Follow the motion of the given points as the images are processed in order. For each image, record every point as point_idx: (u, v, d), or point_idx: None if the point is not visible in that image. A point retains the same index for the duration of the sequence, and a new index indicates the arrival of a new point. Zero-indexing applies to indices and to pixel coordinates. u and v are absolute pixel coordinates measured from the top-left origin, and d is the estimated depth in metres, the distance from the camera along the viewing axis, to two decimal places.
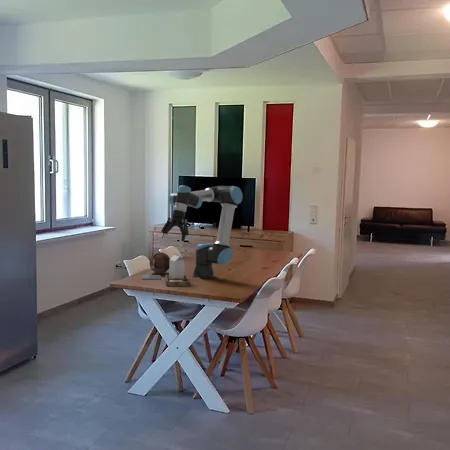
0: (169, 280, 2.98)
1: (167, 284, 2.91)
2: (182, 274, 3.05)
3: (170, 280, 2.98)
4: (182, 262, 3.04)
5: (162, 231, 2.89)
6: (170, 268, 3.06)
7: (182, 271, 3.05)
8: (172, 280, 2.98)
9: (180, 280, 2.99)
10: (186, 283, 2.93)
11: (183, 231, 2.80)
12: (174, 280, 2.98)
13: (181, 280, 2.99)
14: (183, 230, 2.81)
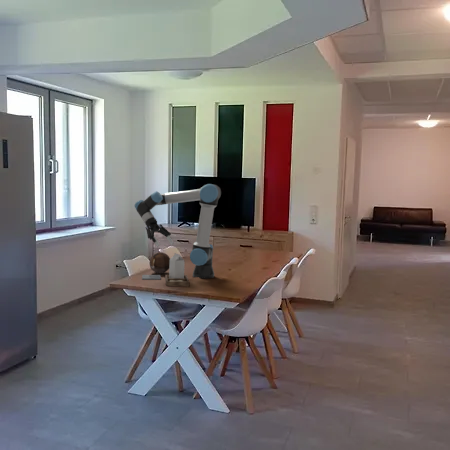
0: None
1: (167, 284, 2.91)
2: (182, 274, 3.05)
3: None
4: (182, 262, 3.04)
5: None
6: (170, 268, 3.06)
7: (182, 271, 3.05)
8: None
9: (180, 280, 2.99)
10: (186, 283, 2.93)
11: (151, 235, 3.08)
12: (174, 280, 2.98)
13: (181, 280, 2.99)
14: (151, 234, 3.09)
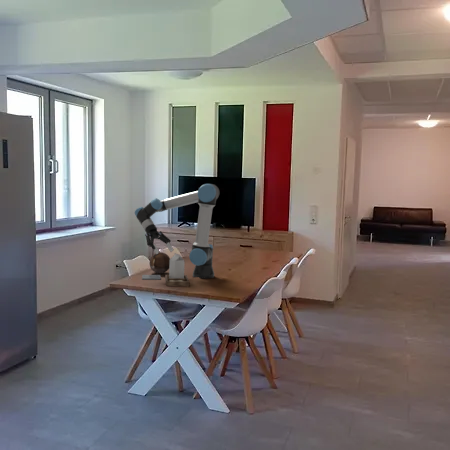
0: None
1: (167, 284, 2.91)
2: (182, 274, 3.05)
3: None
4: (182, 262, 3.04)
5: None
6: (170, 268, 3.06)
7: (182, 271, 3.05)
8: (172, 280, 2.98)
9: (180, 280, 2.99)
10: (186, 283, 2.93)
11: None
12: (174, 280, 2.98)
13: (181, 280, 2.99)
14: (151, 241, 3.10)
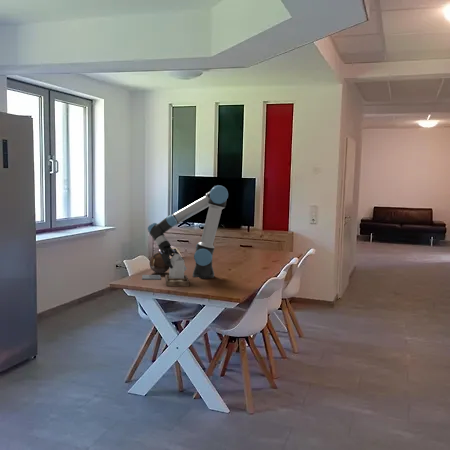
0: None
1: (167, 284, 2.91)
2: (182, 274, 3.05)
3: None
4: (182, 262, 3.04)
5: None
6: (170, 268, 3.06)
7: (182, 271, 3.05)
8: (172, 280, 2.98)
9: (180, 280, 2.99)
10: (186, 283, 2.93)
11: None
12: (174, 280, 2.98)
13: (181, 280, 3.00)
14: (167, 259, 3.04)
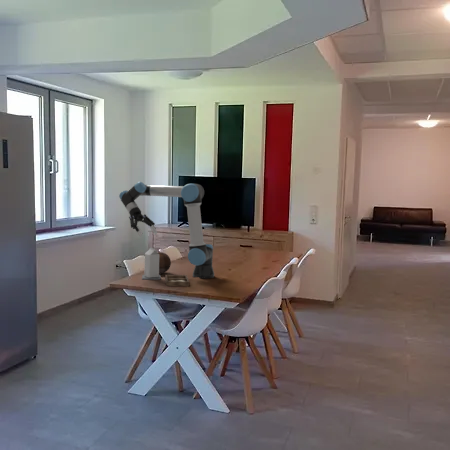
0: None
1: (167, 284, 2.91)
2: (157, 267, 3.13)
3: None
4: (157, 256, 3.12)
5: None
6: (145, 262, 3.13)
7: (157, 265, 3.12)
8: None
9: (181, 280, 2.99)
10: (186, 283, 2.93)
11: (134, 224, 3.14)
12: (175, 280, 2.98)
13: (182, 280, 2.99)
14: (134, 223, 3.14)
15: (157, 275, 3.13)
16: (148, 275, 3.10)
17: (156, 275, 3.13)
